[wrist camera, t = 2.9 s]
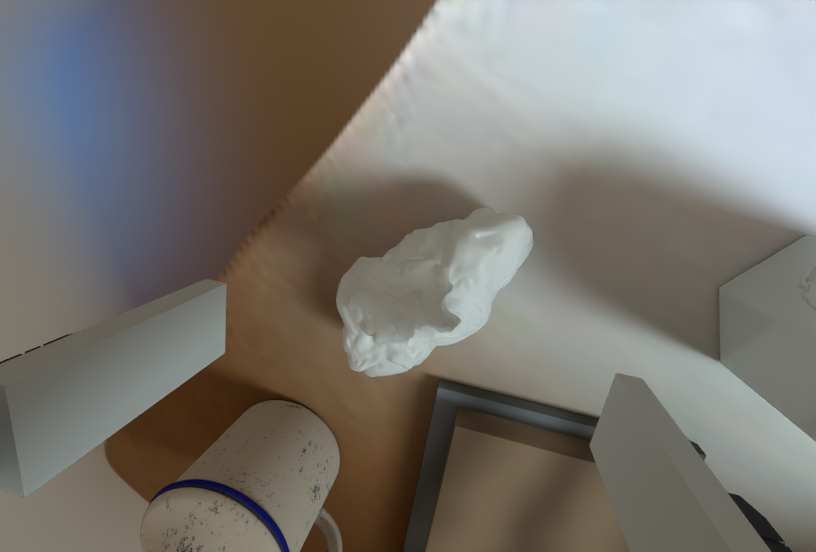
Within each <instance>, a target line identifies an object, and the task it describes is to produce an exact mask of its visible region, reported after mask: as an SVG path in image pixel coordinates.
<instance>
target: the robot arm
mask: <svg viewBox="0 0 816 552" xmlns="http://www.w3.org/2000/svg"><path fill="white" fill-rule="evenodd" d="M225 328H226V283H223V282H218V281H213V280H209V279H205V280H203V281H200V282H198V283H195V284H193V285H191V286H188V287H186V288H183V289H181V290H178V291H176V292H174V293H171V294H169V295H166V296H164V297H162V298H159V299H157V300H154V301H152V302H149V303H147V304H144V305H142V306H140V307H137V308H135V309H132V310H130V311H127V312H125V313H123V314H120V315H118V316H115V317H113V318H110V319H108V320H106V321H103V322H101V323H98V324H96V325H94V326H91V327H89V328H86V329H84V330H81V331H79V332H76V333H74V334H70V335H65V336H63V337H60V338H58V339H56V340H53V341H51V342H48V343H46V344H44V345H43V346H42V347H40V346H39V347H36V348H33V349H31V350H28V351H26V352H25V354H23V355H22V354H19V355H16V356H14V357H12V358H9V359H6V360H4V361H2V362H0V490H2V491H5V492H8V493H11V494H14V495H17V496H20V497H23V498H26V497H27V496H29V495H30V494H32V493H33V492H34V491H36V490H37V489H39V488H40V487H41V486H43V485H44V484H45V483H47V482H48V481H49V480H51V479H52V478H54V477H55V476H56V475H58V474H59V473H60V472H62V471H63V470H65V469H66V468H67V467H69V466H70V465H72V464H73V463H74V462H76V461H77V460H78V459H80V458H81V457H82V456H84V455H85V454H87V453H88V452H89V451H90V450H92V449H93V448H95V447H96V446H98V445H99V444H100V443H102V442H103V441H104V440H106V439H107V438H109V437H110V436H111V435H113V434H114V433H115V432H117V431H118V430H120V429H121V428H122V427H124V426H125V425H126V424H128V423H129V422H131V421H132V420H133V419H135V418H136V417H137V416H139V415H140V414H142V413H143V412H144V411H146V410H147V409H148V408H150V407H151V406H153V405H154V404H155V403H157V402H158V401H159V400H161V399H162V398H164V397H165V396H166V395H168V394H169V393H170V392H172V391H173V390H175V389H176V388H177V387H179V386H180V385H181V384H183V383H184V382H186V381H187V380H188V379H190V378H191V377H192V376H194V375H195V374H197V373H198V372H199V371H201V370H202V369H203V368H205V367H206V366H208V365H209V364H210V363H212V362H213V361H214V360H216V359H217V358H219V357H220V356H221V355H223V354H224V353H225ZM589 446H590V449H591V451H592V454H593V457H594V459H595V462H596V465H597V467H598V470H599V473H600V475H601V478H602V481H603V483H604V486H605V488H606V491H607V494H608V496H609V499H610V502H611V504H612V507H613V510H614V512H615V515H616V518H617V520H618V523H619V525H620V528H621V531H622V533H623V536H624V539H625V541H626V544H627V547H628V549H629V552H792V551H791V549H790V548H789V547H786V546H785V542H784V541H783V539H782V538H781V537H780V536H779V534H778V533H777V532H776V531H775V529H774V528H773V527H772V526H771V524H770V523H769V522H768V521H767V519H766V518H765V517H763V516H762V515H761V514H760V513H759V512H758V511H757V510H755V509H754V508H753V507H752V506H751V505H750V504H749V503H747V502H746V501H745V500H744V499H743V498H742V497H740V496H739V495H735V494H731V493H727V491H726V490H725V489H724V487H723V486H722V485H721V483H720V482H719V481H718V479H717V478H716V477H715V475H714V474H713V473H712V471H711V470H710V469H709V467H708V466H707V464H706V463H705V462H704V460H703V459H702V458H701V456H700V455H699V454H698V452H697V451H696V450H695V448H694V447H693V446H692V444H691V443H690V442H689V440H688V439H687V438H686V436H685V435H684V434H683V432H682V431H681V430H680V428H679V427H678V426H677V424H676V423H675V422H674V420H673V419H672V418H671V416H670V415H669V414H668V412H667V411H666V410H665V408H664V407H663V405H662V404H661V403H660V401H659V400H658V399H657V397H656V396H655V395H654V393H653V392H652V391H651V389H650V388H649V387H648V385H647V384H646V383H645V381H644V380H643V379H641V378H637V377H633V376H628V375H624V374H620V373H616V375H615V378H614V380H613V383H612V386H611V388H610V391H609V394H608V397H607V399H606V402H605V405H604V407H603V410H602V413H601V415H600V418H599V421H598V423H597V426H596V429H595V431H594V434H593V437H592V440H591V442H590V445H589Z"/></svg>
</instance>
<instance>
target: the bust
mask: <svg viewBox="0 0 816 552" xmlns="http://www.w3.org/2000/svg"><path fill="white" fill-rule="evenodd" d="M532 246H533V237H532V230H531V228H530V227H529V226H528V225H527V224H526V221H525V219H524V218H523V217H522V216H519V215H516V214H511V213H499V212H496V211H495V210H492V209H489V208H480V209H476V210H474V211H473V212H472V213H471V214H470V215H469V216H468V217H467V218H465V219H463V220H461V219H455V220H453V221H445V222H439V223H436V224H435V225H433V226H431V227H429V228H425V229H417V230H414V231H413V232H412V233H411V234H407V235H406V236H405V237H404V239H402V240H401V241H400V243H399V244H398V245H397V246H395V247H393V248H391V249H390V250H388V251H387V252H386V254H385V255H384V256H383V257H372V258H368V257H360V258H358V259H357V261H356V262H355V263H354V264H353V265H352V267H351V268H350V270H348V271H347V272H346V273H345V274H344V275H343V277H342V278H341V280H340V283H339V286H338V291H337V296H336V304H337V309H338V312H339V314H340V316H341V318H342V320H343V324H344V327H343V348H344V350H345V352H346V353H347V354H348V365H349V367H350V368H351V369H352V370H354V371H359V372H361V371H364V373H365V374H366V375H367V376H369V377H375V376H386V375H394V374H398V373H403V372H406V371H407V370H408V369H411V368H412V366H416V365H419V364H420V363H422V362H423V361H424V360H425V359H426V358H427V357H428V356H429V354H430V353H431V351H432V350H433V349H434V348H435V347H436V346H442V345H450V344H454V343H456V342H458V341H461V340H463V339H465V338H467V337H468V336H470V335H472V334H473V333H475V332H477V331H478V330H479V329H480V328H481V327H482V326H484V325H485V324H486V322H487V320H488V318H489V315H490V313H491V304H492V301H493V299H494V297H495V296H496V294H497V291H498V290H500V289H501V288H503V287H504V286H505V285H506V284H508V283H509V282H510V281H511V280H512V278H513V277H514V275H515V273H516V272H517V270H518V268H519V267H520V266H521V265H522V264H523V262H524V261H525V259H526V258H527V256H528V255H529V253H530V252H531V249H532Z"/></svg>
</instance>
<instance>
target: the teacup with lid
mask: <svg viewBox="0 0 816 552" xmlns="http://www.w3.org/2000/svg"><path fill="white" fill-rule="evenodd" d="M339 466H340V454H339V449H338V445H337V442H336V440H335V438H334V436H333V434H332V432H331V431H330V429H329V428H328V426H327V425H326V424H325V423H324V422H323V421H322V420H321V419H320V418H319V417H318V416H317V415H316V414H314V413H313V412H312V411H310V410H308V409H307V408H305V407H303V406H301V405H298V404H296V403H292V402H288V401H282V400H269V401H264V402H261V403H258V404H256V405H254V406H252V407H250V408H249V409H248V410H246V411H245V412H244V413H243V414H242V415H241V416H240V417H239V418H238V419H237V420H236V421H235V422H234V423H233V424H232V425H231V426H230V427H229V428H228V429H227V430H226V431H225V432H224V433H223V434H222V435H221V436H220V437H219V438H218V439H217V440H216V441H215V442H214V443H213V444H212V445H211V446H210V447H209V448H208V449H207V450H206V451H205V452H204V453H203V454H202V455H201V456H200V457H199V458H198V459H197V460H196V461H195V462H194V463H193V464H192V465H191V466H190V467H189V468H188V469H187V470H186V471H185V472H184V473H183V474H182V475H181V476H180V477H179V478H178V479H177V480H176V481H175V482H174V483H172V484H169V485H168V486H166V487H164V488H163V489H162V490H160V491H159V492H158V493H157V494H156V495H155V496H154V498H153V499H152V500H151V502H150V504H149V507H148V508H147V510H146V512H145V514H144V517H143V520H142V524H141V532H140V535H141V545H142V549H143V552H300V550H301V548H302V546H303V544H304V542H305V540H306V538H307V536H308V534H309V532H310V530H311V528H312V526H313V524H315V525H316V526H317V527H318V528H319V529H320V531H321V532H322V534H323V536H324V538H325V542H326V547H327V552H342V540H341V535H340V531H339V529H338V526H337V524H336V522H335V521H334V519H333V518H332V517H331V515H330V514H329V513H328V512H327V511H326V510H325V509H324V508H323V507H322V505H323V503H324V501H325V499H326V497H327V495H328V493H329V491H330V489H331V487H332V485H333V483H334V481H335V479H336V476H337V474H338V471H339Z"/></svg>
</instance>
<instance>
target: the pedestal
mask: <svg viewBox="0 0 816 552" xmlns="http://www.w3.org/2000/svg"><path fill="white" fill-rule="evenodd" d="M598 421H599V419H595V418H591V417H587V416H583V415H579V414H575V413H571V412H567V411H564V410H560V409H556V408H552V407H548V406H544V405H540V404H536V403H532V402H528V401H524V400H520V399H516V398H512V397H508V396H504V395H500V394H496V393H492V392H488V391H484V390H480V389H476V388H472V387H468V386H464V385H460V384H456V383H452V382H448V381H444V380H440V381H439V385H438V390H437V394H436V399H435V404H434V408H433V413H432V418H431V422H430V427H429V432H428V436H427V441H426V446H425V450H424V455H423V460H422V464H421V469H420V474H419V478H418V483H417V488H416V492H415V497H414V502H413V506H412V511H411V516H410V520H409V525H408V530H407V534H406V539H405V544H404V548H403V552H629V549H628V547H627V544H626V541H625V539H624V536H623V533H622V531H621V528H620V525H619V523H618V520H617V518H616V515H615V512H614V510H613V507H612V504H611V502H610V499H609V496H608V494H607V491H606V488H605V486H604V483H603V481H602V478H601V475H600V473H599V470H598V467H597V465H596V462H595V459H594V457H593V454H592V451H591V449H590V446H589V445H590V442H591V440H592V437H593V434H594V431H595V429H596V426H597V423H598ZM690 443H691V442H690ZM691 444H692V446H693V447H694V448H695V450H696V451H697V452H698V454H699V455H700V456H701V458H702V459H703V460H704V459H705V457H706V455H705V453H704V452H703V451H702V450H701V448H700V447H699V446H698V444H694V443H691Z"/></svg>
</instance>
